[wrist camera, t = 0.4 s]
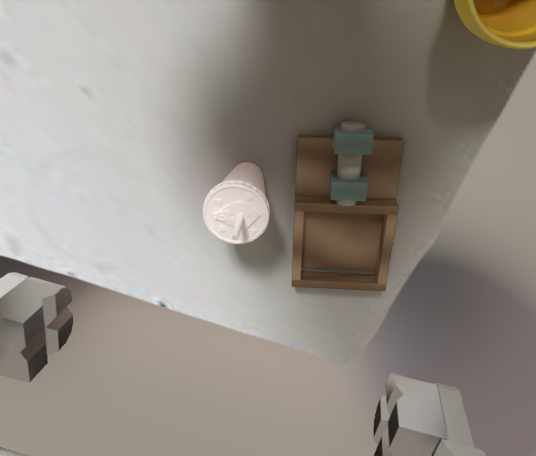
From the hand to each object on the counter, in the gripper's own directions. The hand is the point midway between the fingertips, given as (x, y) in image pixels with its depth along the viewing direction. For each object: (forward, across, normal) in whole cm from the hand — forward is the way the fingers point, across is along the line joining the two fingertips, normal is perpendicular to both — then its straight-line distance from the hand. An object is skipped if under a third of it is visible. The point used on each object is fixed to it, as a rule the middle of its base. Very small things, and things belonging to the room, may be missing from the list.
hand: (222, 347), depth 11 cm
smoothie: (+38, +7, +10) cm, 40 cm away
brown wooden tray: (+40, -4, +11) cm, 41 cm away
